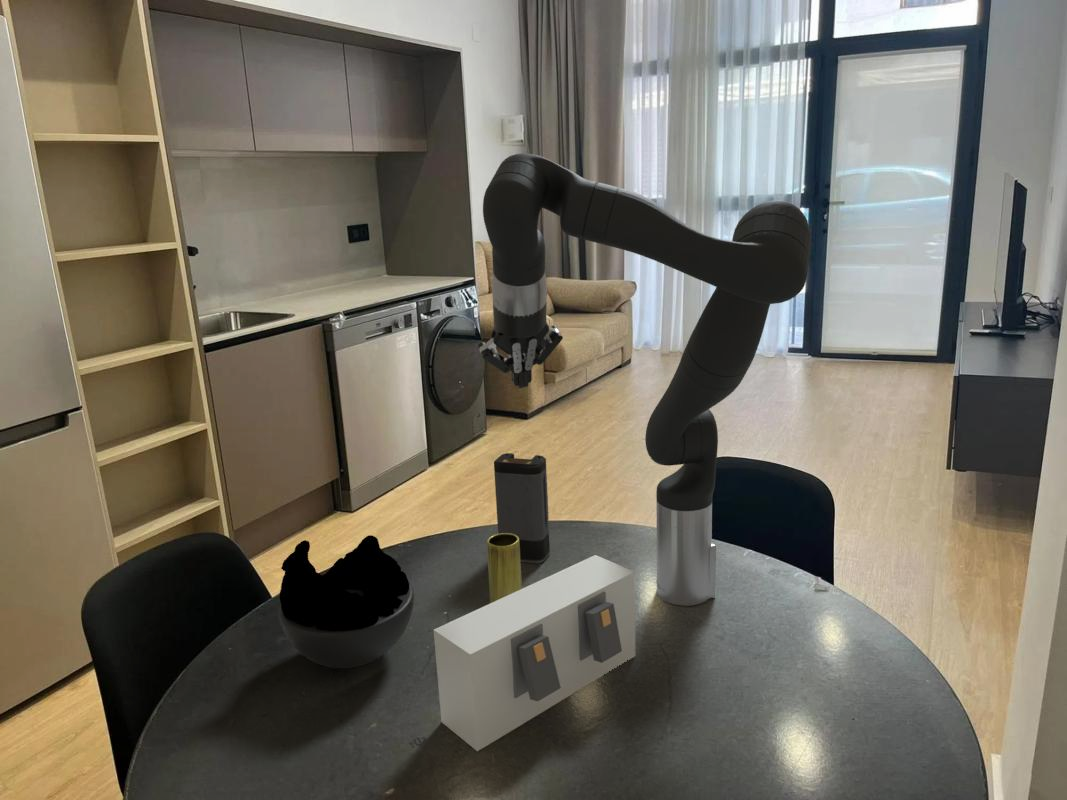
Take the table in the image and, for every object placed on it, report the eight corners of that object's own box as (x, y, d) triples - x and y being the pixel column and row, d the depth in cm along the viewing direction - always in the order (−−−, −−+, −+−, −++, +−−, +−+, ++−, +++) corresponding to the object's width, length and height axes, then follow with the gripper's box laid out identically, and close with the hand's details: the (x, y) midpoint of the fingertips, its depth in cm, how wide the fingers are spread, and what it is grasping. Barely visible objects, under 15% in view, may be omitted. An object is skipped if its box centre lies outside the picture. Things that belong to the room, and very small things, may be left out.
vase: (527, 608, 134) (523, 531, 130) (523, 628, 128) (519, 547, 124) (492, 608, 135) (487, 531, 131) (486, 627, 129) (481, 547, 125)
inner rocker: (593, 660, 109) (585, 612, 109) (613, 648, 112) (605, 601, 111) (603, 663, 108) (594, 614, 107) (623, 651, 110) (614, 603, 110)
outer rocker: (530, 699, 102) (517, 647, 101) (553, 686, 104) (540, 635, 104) (539, 701, 100) (525, 648, 100) (562, 688, 103) (549, 636, 102)
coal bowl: (445, 651, 123) (436, 540, 118) (334, 715, 109) (319, 592, 104) (369, 610, 136) (358, 508, 131) (262, 662, 122) (245, 551, 117)
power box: (441, 722, 106) (433, 629, 103) (597, 635, 125) (595, 554, 122) (478, 752, 100) (471, 655, 97) (636, 656, 119) (635, 572, 115)
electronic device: (552, 551, 155) (548, 455, 150) (542, 565, 149) (538, 465, 144) (507, 546, 158) (502, 452, 153) (496, 559, 152) (490, 462, 147)
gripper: (555, 270, 113) (553, 358, 126) (466, 290, 110) (473, 377, 123) (574, 302, 108) (570, 390, 121) (481, 323, 105) (487, 411, 118)
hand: (521, 383), depth 122 cm, fingers closed
